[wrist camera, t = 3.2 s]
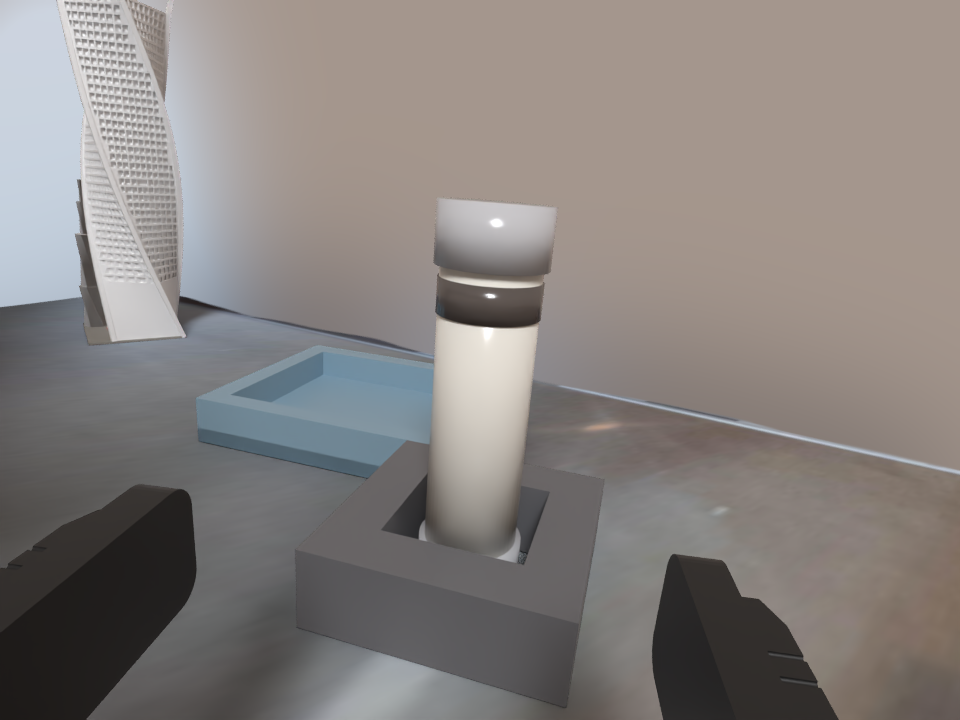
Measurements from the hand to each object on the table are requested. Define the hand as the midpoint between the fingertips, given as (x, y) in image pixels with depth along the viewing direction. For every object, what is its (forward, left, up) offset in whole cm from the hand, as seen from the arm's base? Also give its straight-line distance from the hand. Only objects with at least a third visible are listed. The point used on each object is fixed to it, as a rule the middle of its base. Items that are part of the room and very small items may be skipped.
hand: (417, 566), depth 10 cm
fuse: (-2, +11, -8) cm, 14 cm away
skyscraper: (-38, +32, -9) cm, 50 cm away
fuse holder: (-2, +11, -8) cm, 14 cm away
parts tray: (-12, +22, -8) cm, 27 cm away
